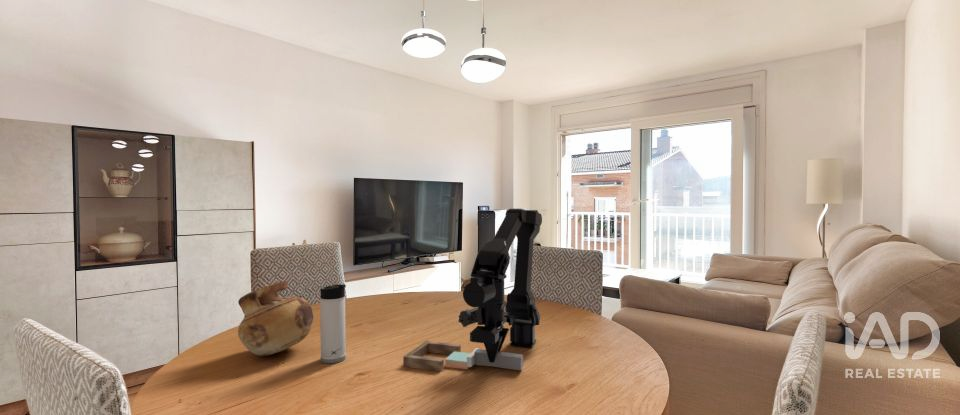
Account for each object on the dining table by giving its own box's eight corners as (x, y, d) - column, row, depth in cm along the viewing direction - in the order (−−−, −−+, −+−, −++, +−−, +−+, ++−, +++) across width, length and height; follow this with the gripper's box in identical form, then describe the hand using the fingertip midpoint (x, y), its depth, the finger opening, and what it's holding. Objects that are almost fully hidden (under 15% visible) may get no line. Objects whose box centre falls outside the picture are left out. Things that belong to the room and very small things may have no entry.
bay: (460, 353, 117) (460, 344, 117) (441, 371, 105) (441, 361, 105) (426, 349, 121) (426, 340, 121) (403, 366, 109) (403, 356, 109)
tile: (475, 361, 112) (475, 353, 112) (467, 369, 107) (467, 361, 107) (454, 358, 114) (454, 351, 114) (445, 367, 108) (445, 359, 108)
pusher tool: (524, 363, 109) (525, 351, 109) (518, 373, 102) (518, 361, 102) (475, 356, 113) (475, 345, 113) (466, 366, 106) (466, 354, 106)
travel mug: (339, 364, 110) (338, 287, 110) (315, 362, 111) (315, 286, 111) (351, 356, 116) (350, 282, 116) (329, 354, 117) (328, 281, 117)
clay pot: (271, 340, 130) (270, 274, 130) (327, 344, 126) (326, 276, 126) (221, 363, 111) (220, 287, 111) (284, 369, 107) (284, 289, 107)
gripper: (474, 289, 119) (475, 345, 119) (449, 304, 101) (449, 370, 101) (513, 291, 115) (514, 349, 115) (494, 308, 98) (494, 376, 98)
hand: (493, 360), depth 108 cm, fingers closed on pusher tool, 2 cm apart
